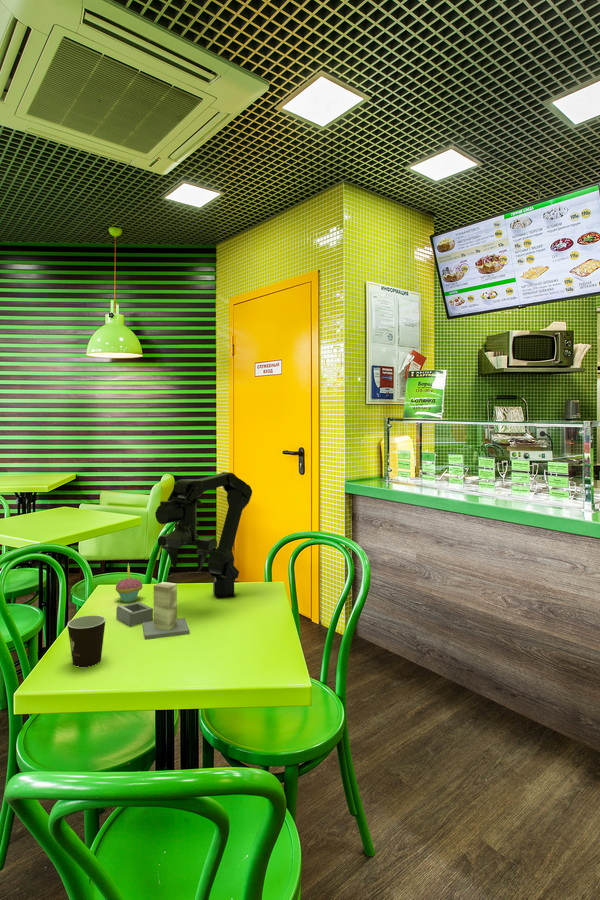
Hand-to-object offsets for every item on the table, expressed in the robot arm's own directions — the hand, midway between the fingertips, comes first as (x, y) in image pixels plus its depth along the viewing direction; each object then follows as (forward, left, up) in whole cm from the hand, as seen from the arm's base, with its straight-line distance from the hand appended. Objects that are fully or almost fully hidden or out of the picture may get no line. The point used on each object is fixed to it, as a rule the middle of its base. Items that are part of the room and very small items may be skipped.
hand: (187, 568), depth 164 cm
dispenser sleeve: (+16, +4, -13) cm, 21 cm away
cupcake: (+17, -15, -13) cm, 26 cm away
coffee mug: (+28, +28, -13) cm, 42 cm away
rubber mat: (+8, +15, -13) cm, 21 cm away
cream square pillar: (+8, +15, -12) cm, 21 cm away
